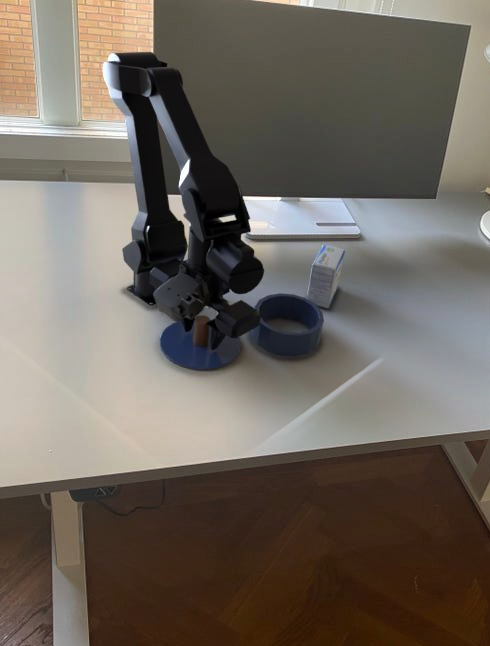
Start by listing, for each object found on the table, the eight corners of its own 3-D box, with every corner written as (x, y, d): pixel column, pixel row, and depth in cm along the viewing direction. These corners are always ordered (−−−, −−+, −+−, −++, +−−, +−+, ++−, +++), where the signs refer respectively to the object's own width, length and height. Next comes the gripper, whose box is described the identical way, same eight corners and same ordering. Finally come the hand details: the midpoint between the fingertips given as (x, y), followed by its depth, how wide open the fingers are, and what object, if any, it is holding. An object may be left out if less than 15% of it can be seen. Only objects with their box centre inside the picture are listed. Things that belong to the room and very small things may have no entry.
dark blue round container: (236, 333, 121) (239, 309, 118) (282, 308, 129) (286, 285, 126) (288, 368, 116) (293, 344, 113) (332, 340, 124) (337, 317, 121)
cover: (142, 343, 114) (142, 315, 111) (201, 314, 123) (203, 287, 120) (199, 384, 109) (201, 356, 106) (256, 350, 118) (260, 323, 115)
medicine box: (328, 309, 131) (336, 270, 126) (304, 303, 131) (312, 263, 126) (337, 288, 138) (346, 249, 132) (315, 281, 138) (322, 242, 132)
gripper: (120, 246, 103) (121, 331, 113) (213, 306, 97) (205, 392, 106) (179, 224, 111) (175, 305, 121) (268, 279, 104) (256, 360, 114)
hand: (200, 339), depth 115 cm, fingers open, 6 cm apart
